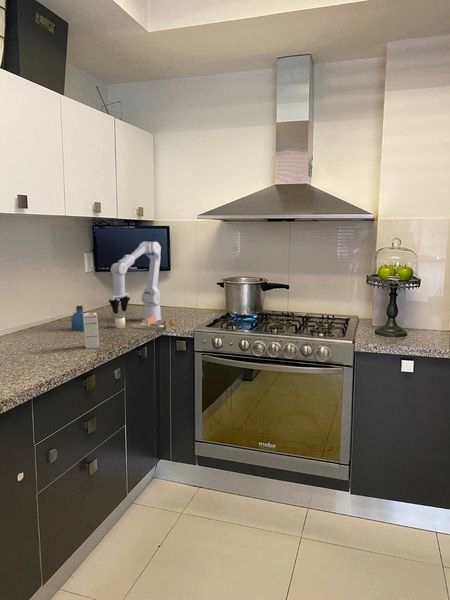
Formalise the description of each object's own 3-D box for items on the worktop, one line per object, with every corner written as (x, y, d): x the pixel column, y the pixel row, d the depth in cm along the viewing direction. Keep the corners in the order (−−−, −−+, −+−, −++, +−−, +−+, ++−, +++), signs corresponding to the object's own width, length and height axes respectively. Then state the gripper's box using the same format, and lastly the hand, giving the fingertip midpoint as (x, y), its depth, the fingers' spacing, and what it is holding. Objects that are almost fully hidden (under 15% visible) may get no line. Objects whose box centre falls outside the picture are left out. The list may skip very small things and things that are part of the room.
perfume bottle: (82, 330, 229) (81, 307, 227) (71, 330, 230) (70, 306, 228) (88, 328, 235) (88, 305, 233) (78, 327, 236) (77, 305, 234)
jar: (119, 325, 241) (118, 314, 240) (127, 326, 239) (127, 315, 238) (113, 327, 236) (112, 316, 235) (121, 328, 234) (121, 317, 234)
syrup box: (99, 347, 196) (98, 314, 194) (85, 348, 194) (83, 315, 192) (98, 344, 202) (96, 312, 199) (84, 345, 199) (82, 312, 197)
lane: (143, 323, 248) (143, 314, 247) (176, 326, 241) (176, 317, 240) (131, 327, 237) (131, 318, 236) (165, 330, 230) (165, 321, 229)
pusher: (154, 323, 244) (154, 316, 243) (163, 324, 242) (163, 316, 241) (146, 327, 235) (145, 319, 234) (154, 327, 233) (154, 319, 233)
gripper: (120, 284, 243) (121, 309, 245) (104, 287, 229) (105, 313, 231) (131, 285, 240) (132, 310, 242) (116, 288, 227) (117, 314, 229)
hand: (119, 312), depth 237 cm, fingers open, 7 cm apart
